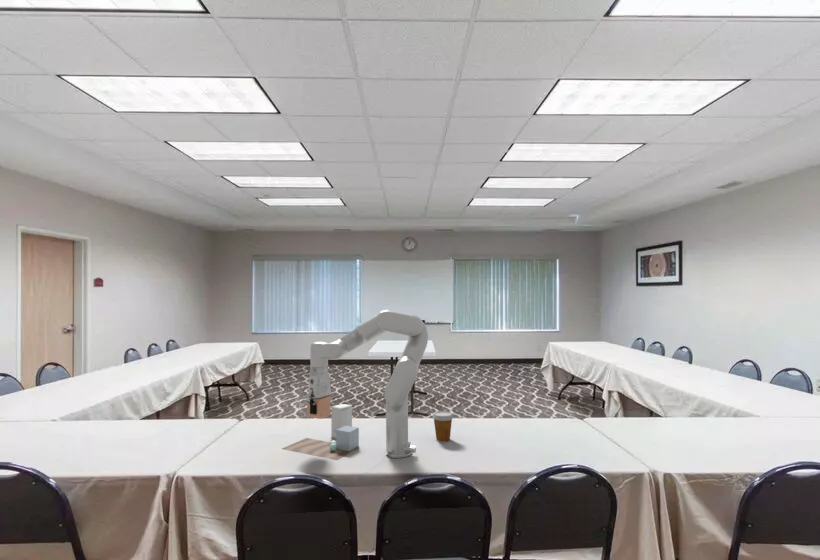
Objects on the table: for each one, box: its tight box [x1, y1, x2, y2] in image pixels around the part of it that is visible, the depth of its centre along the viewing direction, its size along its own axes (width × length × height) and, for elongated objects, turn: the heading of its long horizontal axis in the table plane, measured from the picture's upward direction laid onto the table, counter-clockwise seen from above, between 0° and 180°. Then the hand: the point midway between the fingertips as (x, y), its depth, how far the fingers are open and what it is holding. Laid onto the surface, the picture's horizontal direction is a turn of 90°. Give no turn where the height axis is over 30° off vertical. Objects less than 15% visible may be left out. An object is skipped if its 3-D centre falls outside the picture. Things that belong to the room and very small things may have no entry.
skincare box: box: [330, 403, 353, 439], centre depth 199 cm, size 8×7×16 cm
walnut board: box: [281, 437, 360, 461], centre depth 182 cm, size 30×16×2 cm, turn 63°
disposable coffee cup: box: [432, 410, 454, 442], centre depth 197 cm, size 10×10×12 cm
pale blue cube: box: [335, 426, 360, 451], centre depth 183 cm, size 7×7×8 cm
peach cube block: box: [306, 395, 332, 419], centre depth 181 cm, size 7×7×8 cm
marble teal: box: [330, 444, 337, 451], centre depth 179 cm, size 3×3×3 cm
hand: (319, 411), depth 181 cm, fingers closed on peach cube block, 7 cm apart
